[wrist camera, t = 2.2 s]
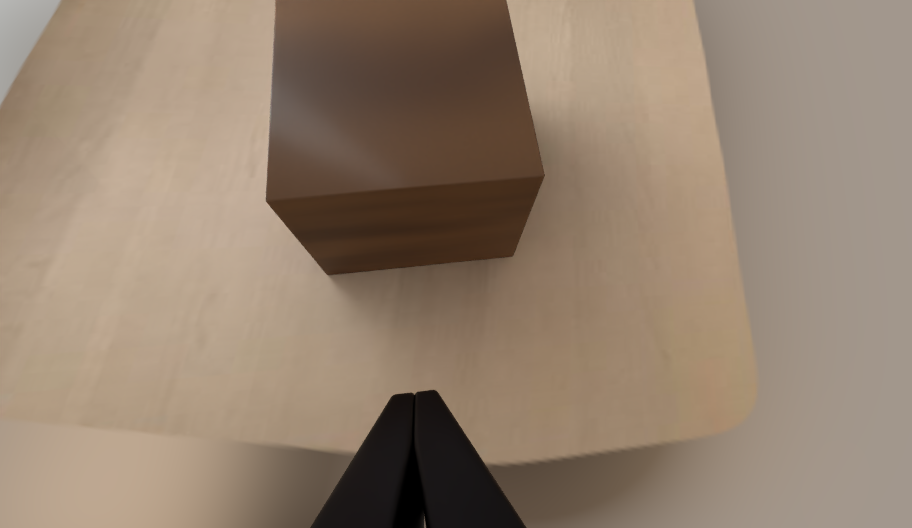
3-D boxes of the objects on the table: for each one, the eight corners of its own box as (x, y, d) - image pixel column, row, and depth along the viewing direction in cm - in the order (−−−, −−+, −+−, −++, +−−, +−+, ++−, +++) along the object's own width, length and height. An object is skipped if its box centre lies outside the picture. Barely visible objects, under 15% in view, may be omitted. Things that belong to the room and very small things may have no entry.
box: (513, 256, 23) (545, 175, 15) (326, 275, 22) (265, 201, 15) (485, 95, 26) (499, -32, 19) (325, 108, 26) (275, -19, 18)
